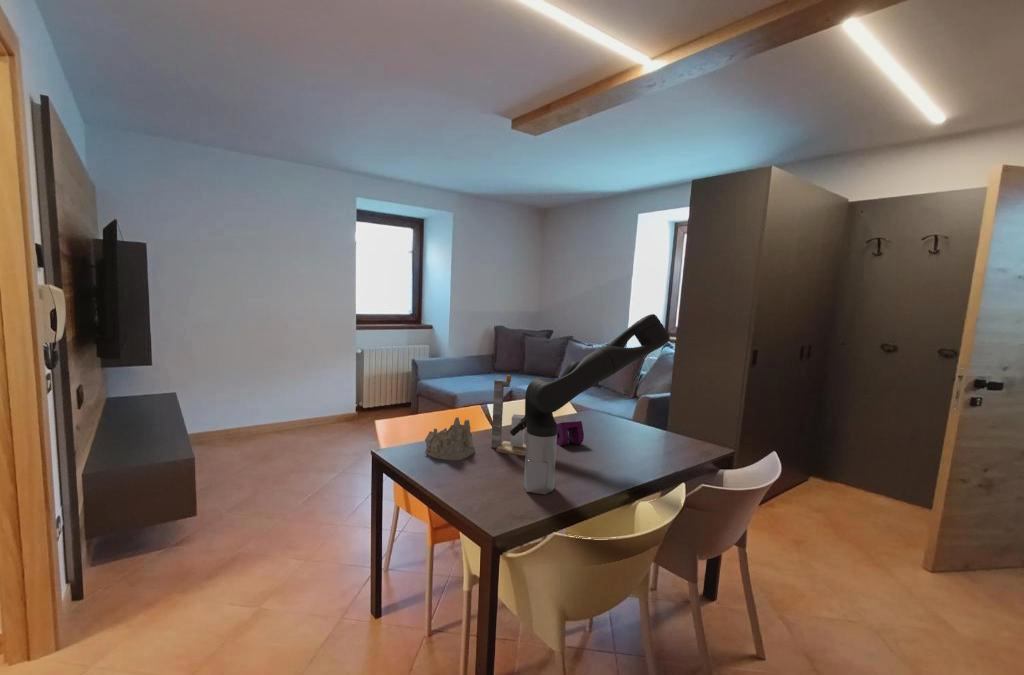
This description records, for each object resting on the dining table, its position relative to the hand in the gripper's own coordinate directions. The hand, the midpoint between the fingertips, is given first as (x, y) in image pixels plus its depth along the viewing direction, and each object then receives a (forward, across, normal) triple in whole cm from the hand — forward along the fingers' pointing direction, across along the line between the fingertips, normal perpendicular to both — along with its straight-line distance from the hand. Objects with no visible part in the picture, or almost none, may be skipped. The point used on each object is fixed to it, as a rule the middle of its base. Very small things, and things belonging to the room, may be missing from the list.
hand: (512, 431), depth 167 cm
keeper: (+5, 0, -4) cm, 7 cm away
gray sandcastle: (+20, -11, +10) cm, 25 cm away
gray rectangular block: (+2, 0, -5) cm, 5 cm away
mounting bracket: (-7, +18, -18) cm, 26 cm away
